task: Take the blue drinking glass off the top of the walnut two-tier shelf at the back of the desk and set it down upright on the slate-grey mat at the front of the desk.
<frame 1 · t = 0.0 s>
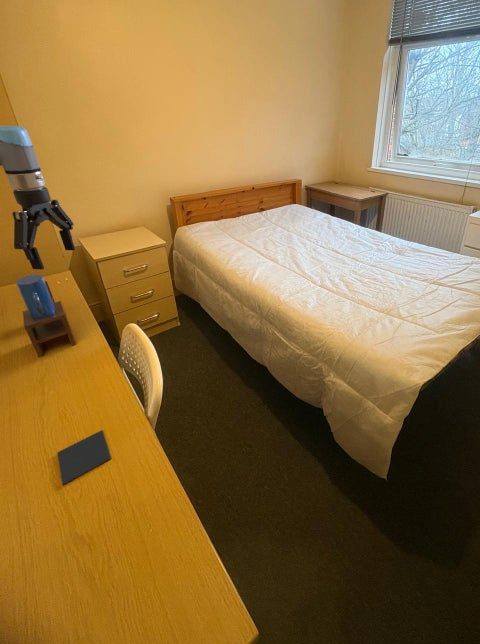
hand: (55, 258, 97), 29 cm above the table, tool pointing down, fingers open, 13 cm apart
mat: (84, 456, 72), on the table
shelf: (56, 342, 106), on the table
deodorant: (51, 320, 116), on the table
blue drinking glass: (43, 312, 100), point 12 cm above the table, touching shelf
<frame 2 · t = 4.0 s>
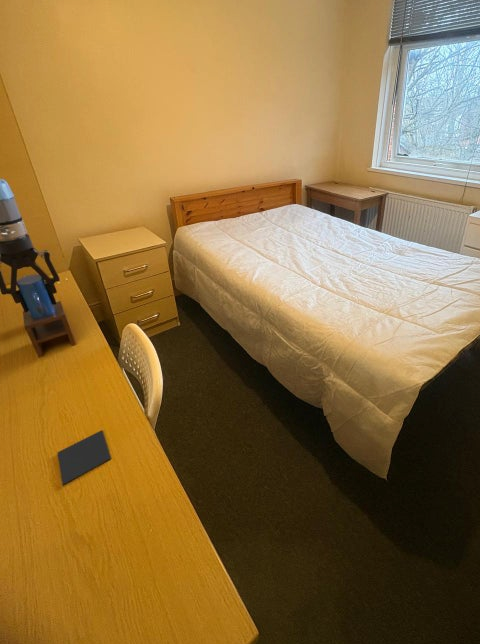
hand: (40, 306, 99), 14 cm above the table, tool pointing down, fingers closed on blue drinking glass, 6 cm apart
blue drinking glass: (43, 312, 100), point 12 cm above the table, touching gripper, shelf
everything else where it was.
when the fingers open (3 cm above the table, at t = 14.7 s): blue drinking glass stays where it is, resting on mat.
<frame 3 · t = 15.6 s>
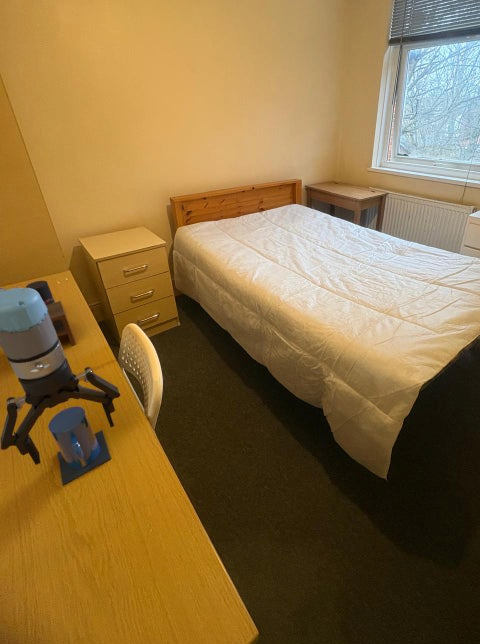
hand: (76, 439, 69), 6 cm above the table, tool pointing down, fingers open, 13 cm apart
blue drinking glass: (83, 455, 72), resting on mat
everything else where it was.
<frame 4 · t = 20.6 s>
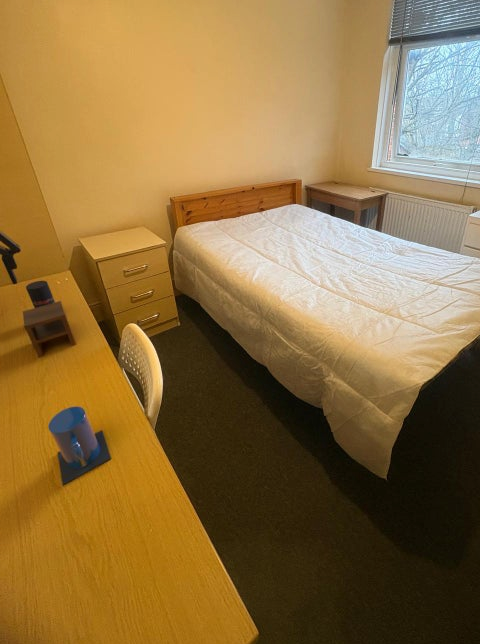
nothing on the table moved.
at the end: blue drinking glass 0.0 cm off-centre on the mat, point 0.4 cm above the mat's base; blue drinking glass tilted 0°; the gripper is holding nothing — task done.
